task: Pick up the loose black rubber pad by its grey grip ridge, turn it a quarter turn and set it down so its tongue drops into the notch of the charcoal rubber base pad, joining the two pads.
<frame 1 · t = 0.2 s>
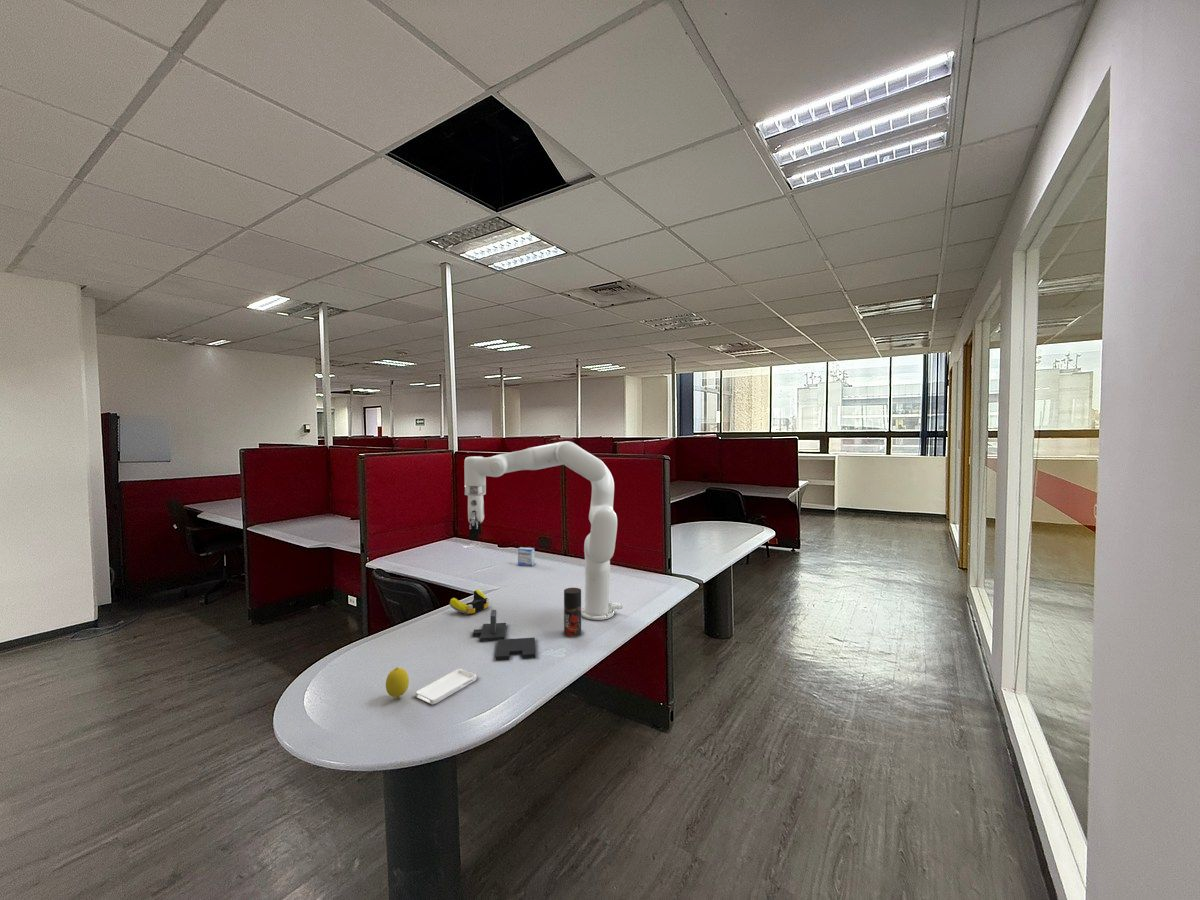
hand: (475, 537, 174), 31 cm above the table, tool pointing down, fingers open, 9 cm apart
base pad: (516, 650, 152), on the table
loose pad: (493, 633, 164), on the table
phone case: (447, 688, 129), on the table
lemon: (397, 698, 125), on the table
deodorant: (572, 633, 165), on the table
blue and white box: (526, 564, 250), on the table
gaming controller: (471, 610, 187), on the table
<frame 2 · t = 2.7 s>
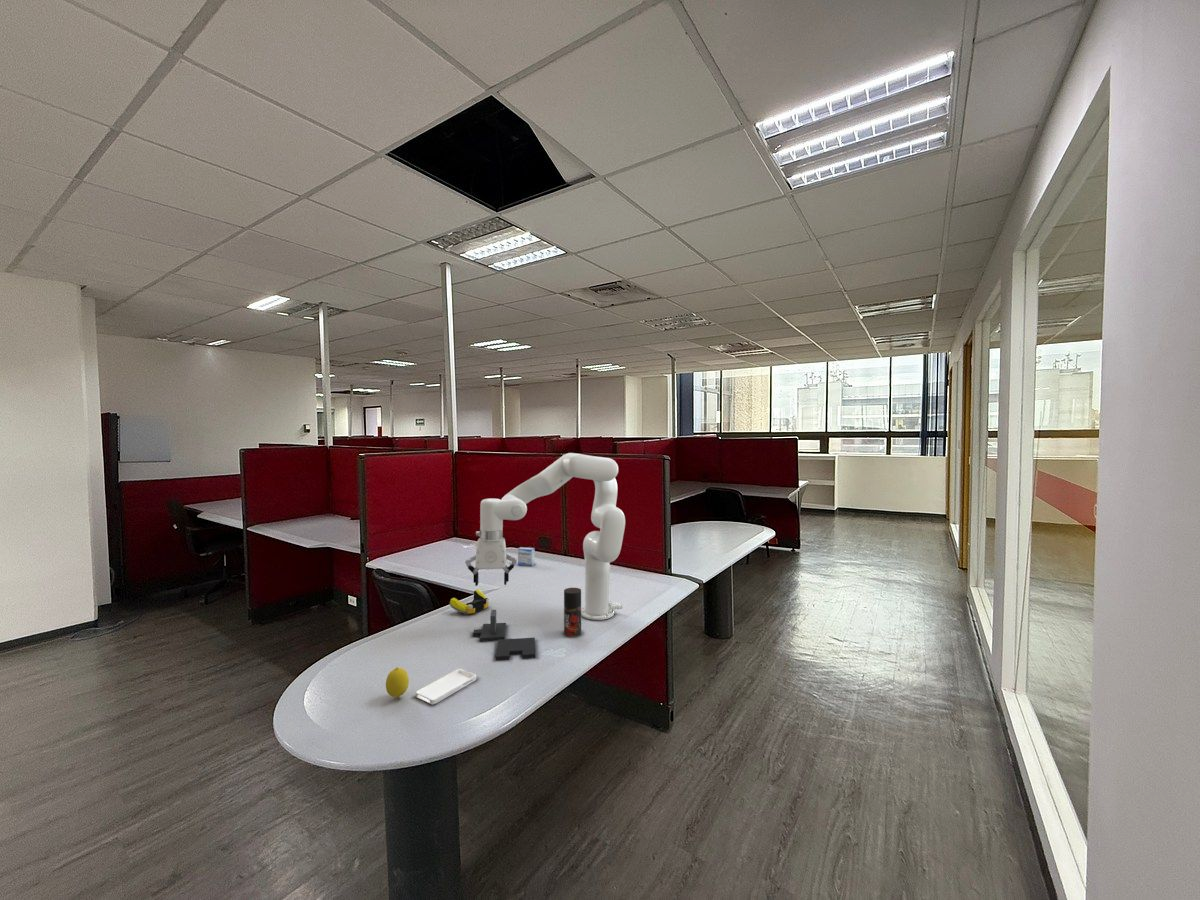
hand: (491, 584, 164), 17 cm above the table, tool pointing down, fingers open, 9 cm apart
nothing on the table moved.
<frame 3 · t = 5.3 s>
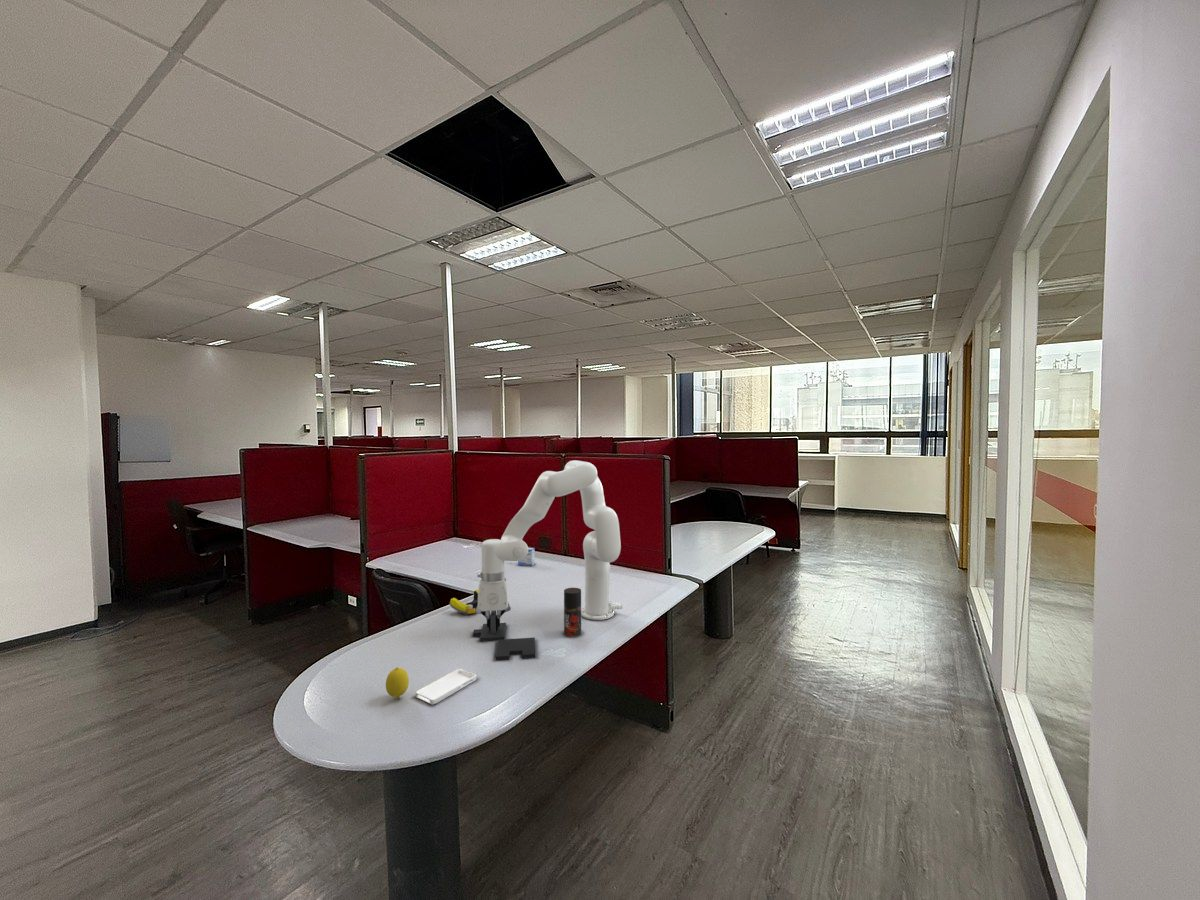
hand: (493, 628, 164), 2 cm above the table, tool pointing down, fingers closed on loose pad
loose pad: (493, 633, 164), on the table, touching gripper
everything else where it was.
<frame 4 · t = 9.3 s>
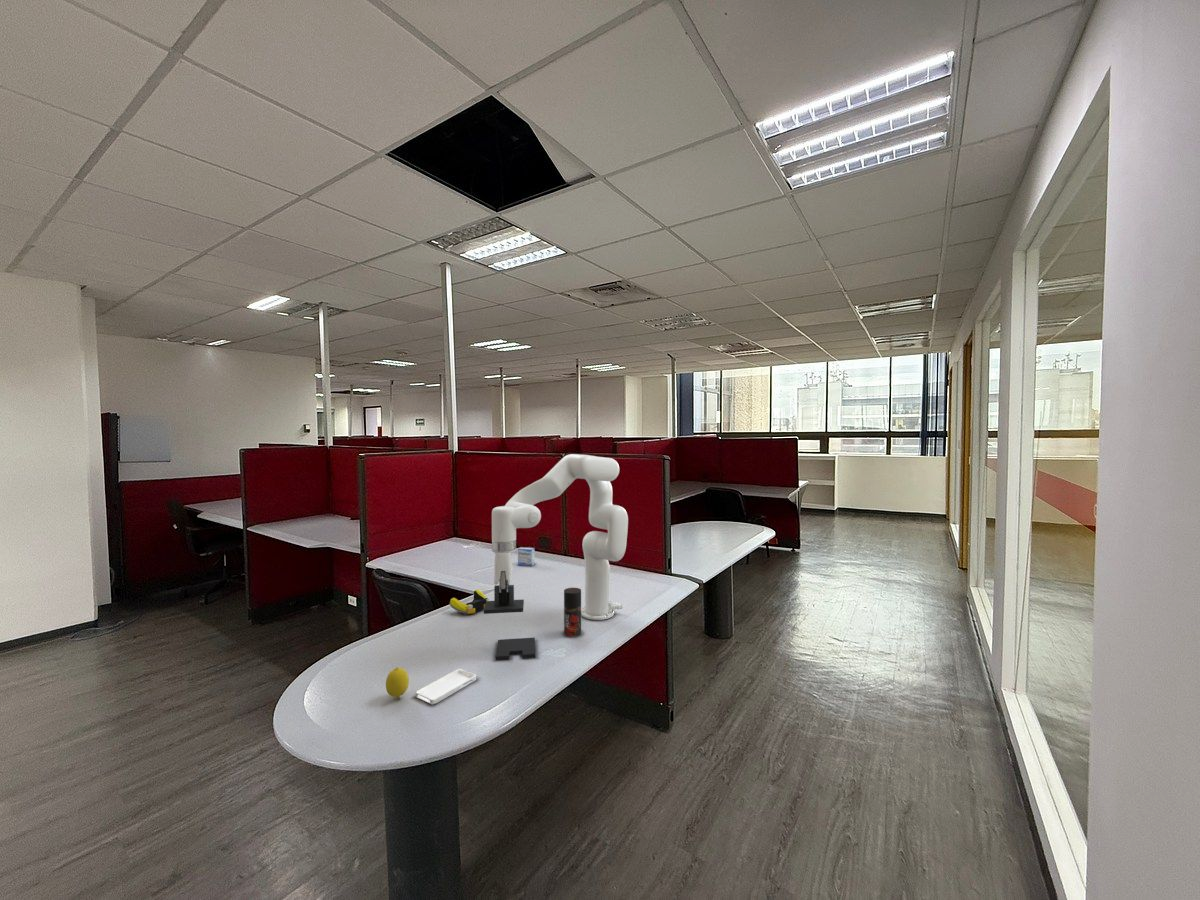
hand: (504, 602, 151), 15 cm above the table, tool pointing down, fingers closed on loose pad
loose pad: (504, 608, 151), point 13 cm above the table, touching gripper
everything else where it was.
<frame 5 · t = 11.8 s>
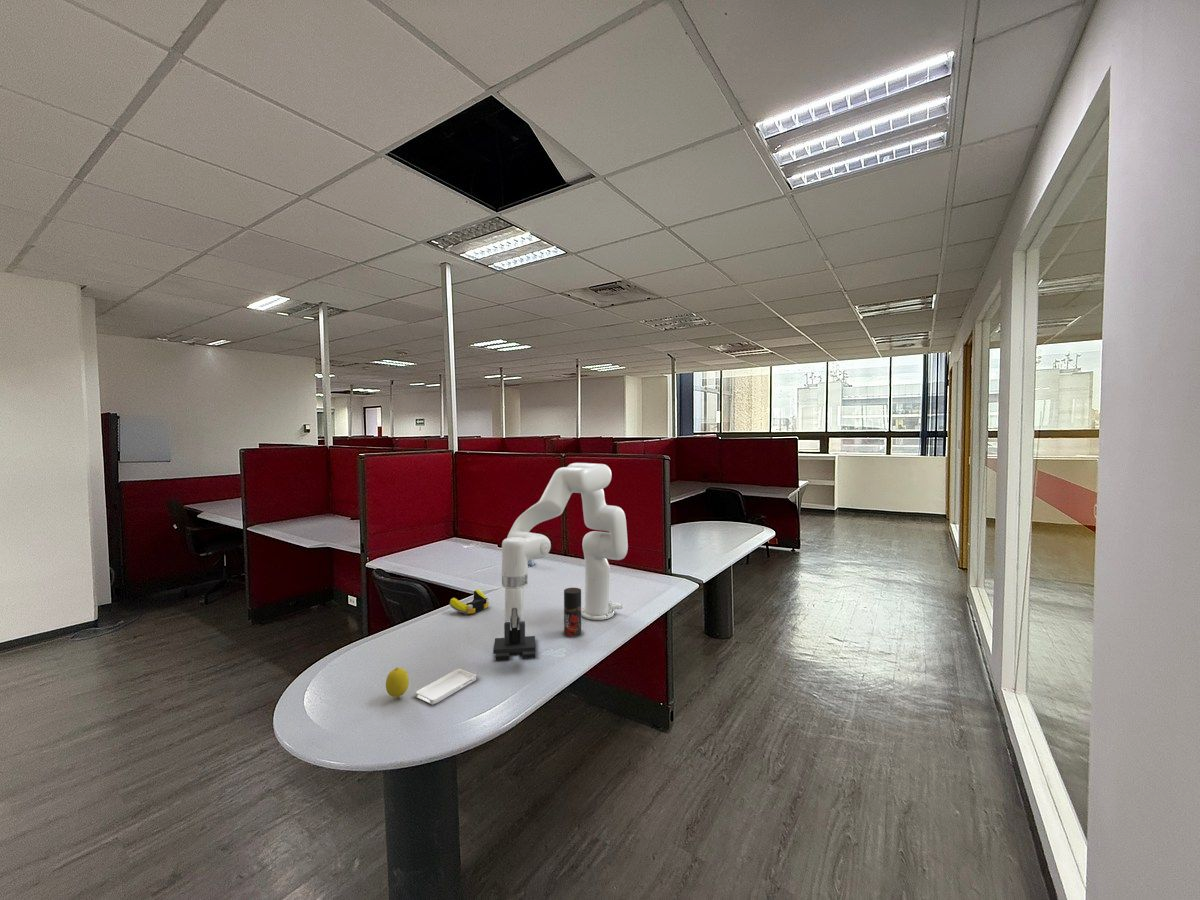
hand: (514, 640, 142), 7 cm above the table, tool pointing down, fingers closed on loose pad
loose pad: (514, 646, 142), point 6 cm above the table, touching gripper
everything else where it was.
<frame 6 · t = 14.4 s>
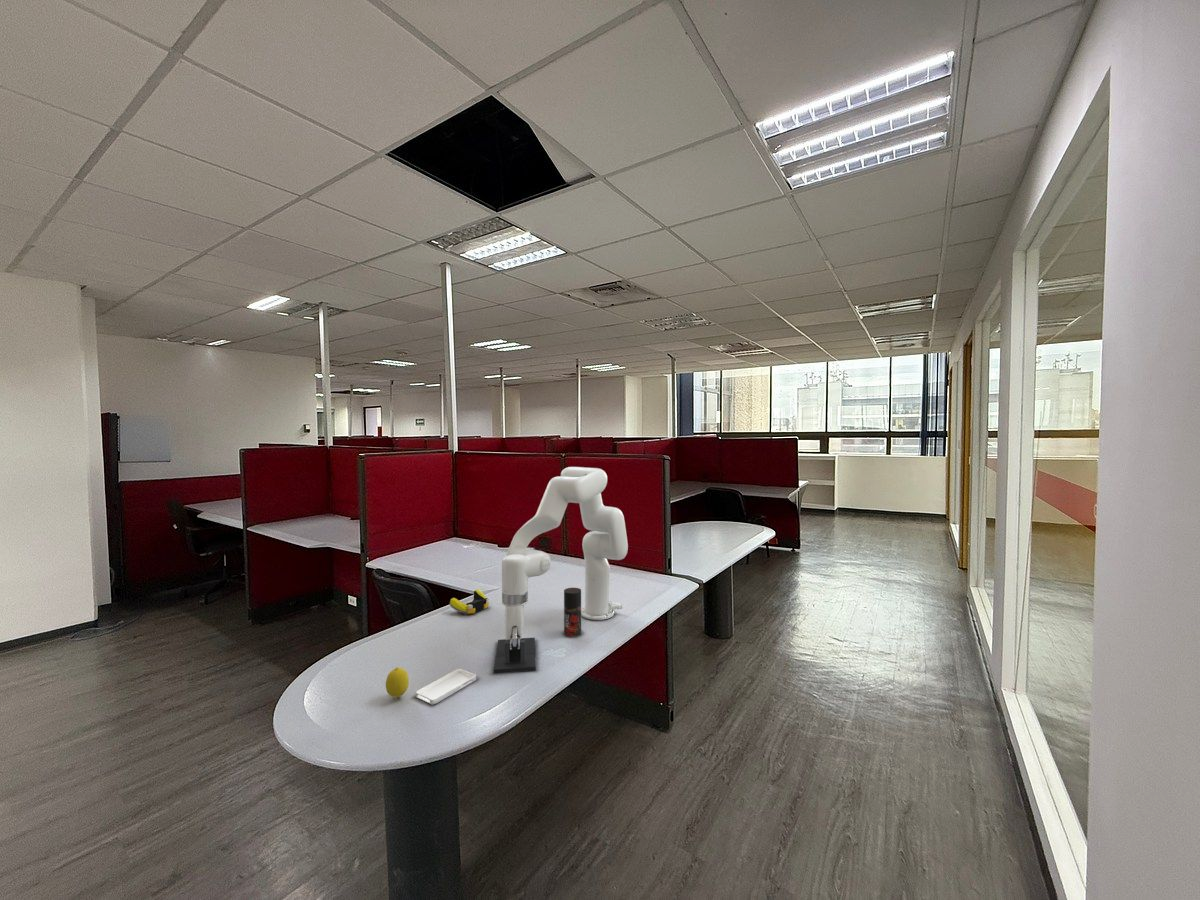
hand: (515, 654, 142), 3 cm above the table, tool pointing down, fingers open, 9 cm apart
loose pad: (515, 665, 142), on the table
everything else where it was.
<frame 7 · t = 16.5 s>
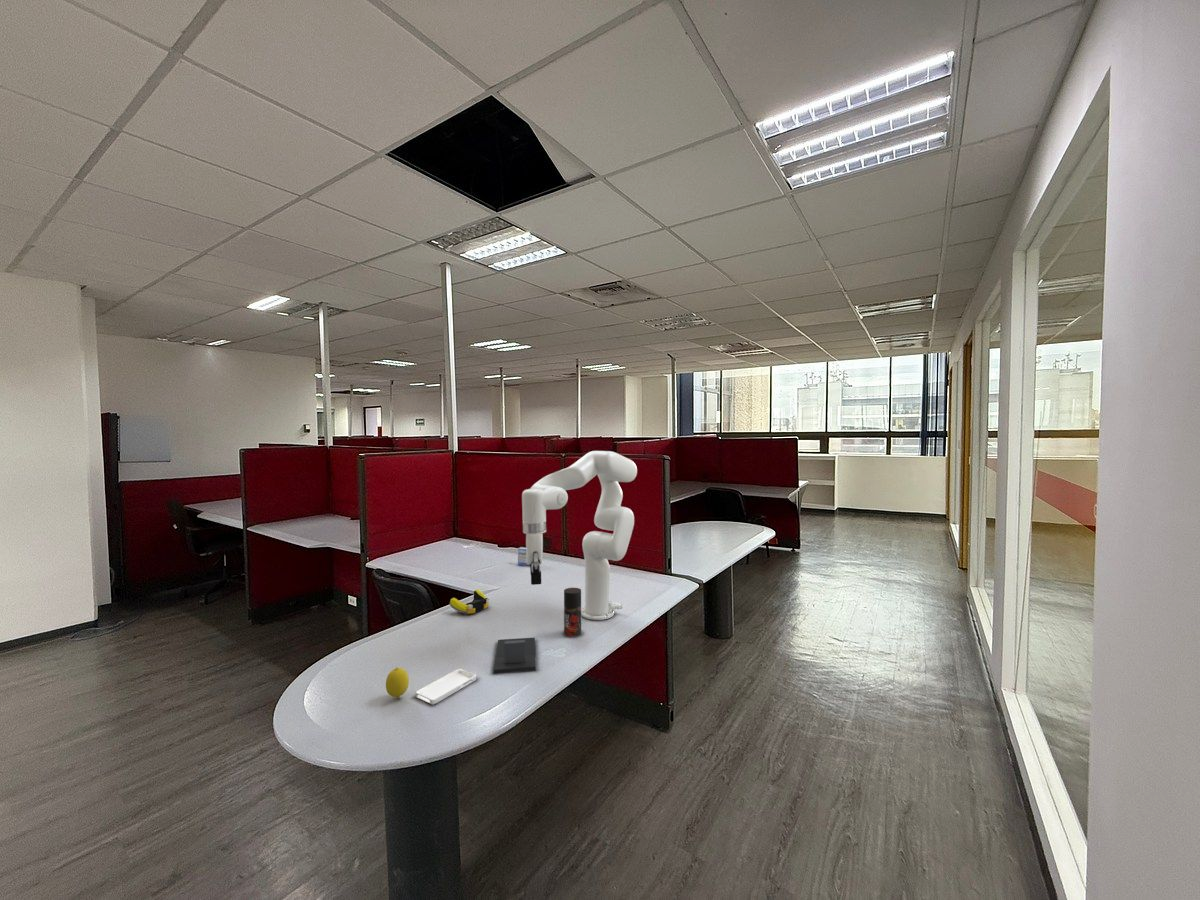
hand: (535, 579, 156), 21 cm above the table, tool pointing down, fingers open, 9 cm apart
nothing on the table moved.
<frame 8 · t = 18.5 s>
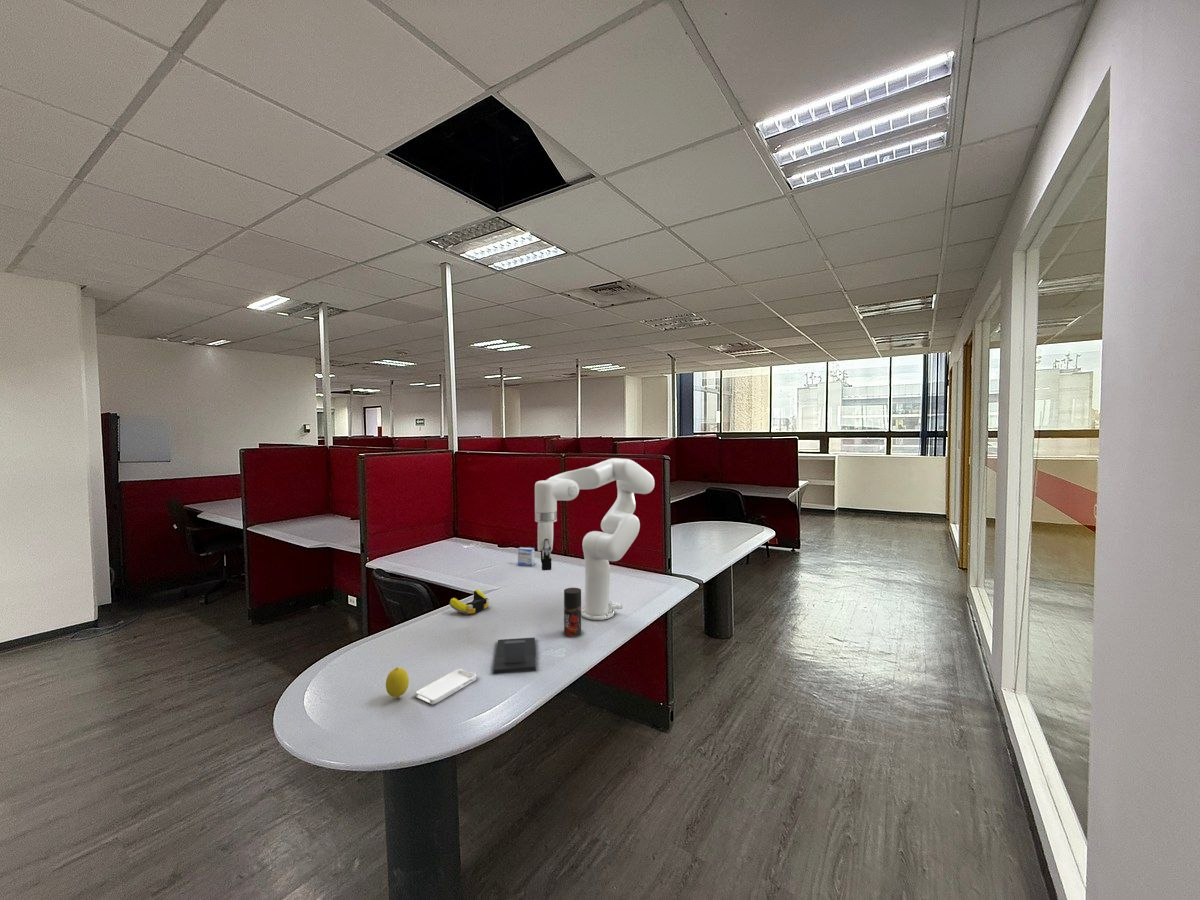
hand: (546, 566, 164), 23 cm above the table, tool pointing down, fingers open, 9 cm apart
nothing on the table moved.
at the end: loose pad 0.1 cm from the target spot on the table beside the base pad, on the table; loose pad tilted 0°; the gripper is holding nothing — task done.
